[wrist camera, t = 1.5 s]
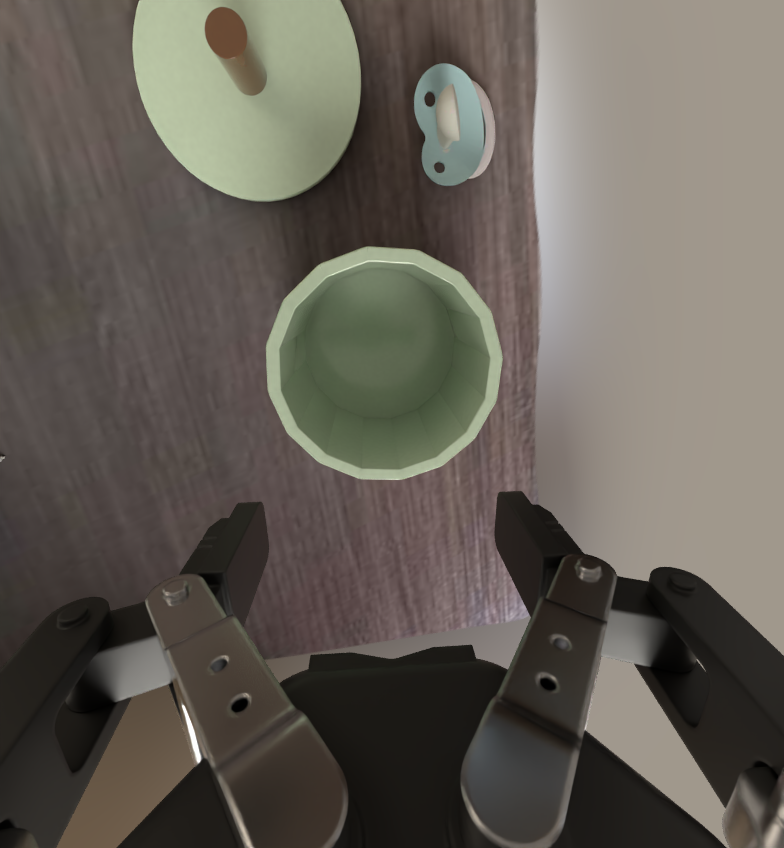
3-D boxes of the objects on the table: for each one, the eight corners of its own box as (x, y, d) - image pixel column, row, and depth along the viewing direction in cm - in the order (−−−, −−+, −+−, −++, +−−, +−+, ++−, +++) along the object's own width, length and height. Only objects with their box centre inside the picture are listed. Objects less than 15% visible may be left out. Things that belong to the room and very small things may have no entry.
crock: (262, 341, 35) (215, 367, 24) (385, 219, 33) (395, 186, 22) (375, 453, 39) (378, 518, 28) (492, 352, 37) (546, 381, 26)
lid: (94, 68, 28) (24, 12, 23) (244, -127, 26) (208, -248, 20) (261, 247, 33) (238, 239, 27) (404, 97, 30) (413, 52, 24)
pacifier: (486, 69, 30) (406, 85, 30) (519, 16, 24) (420, 36, 24) (497, 181, 32) (423, 196, 32) (529, 157, 26) (439, 176, 26)
